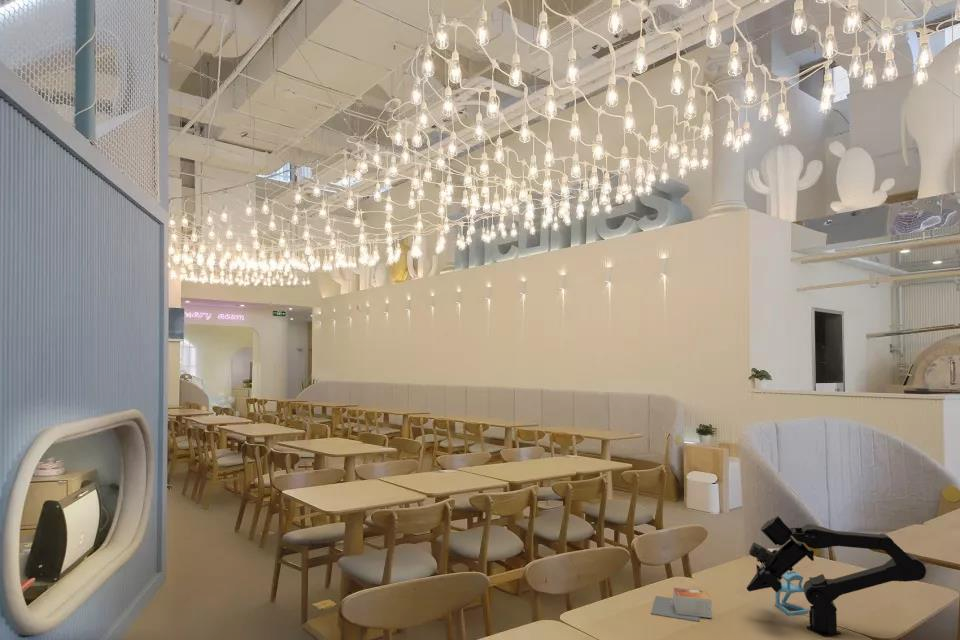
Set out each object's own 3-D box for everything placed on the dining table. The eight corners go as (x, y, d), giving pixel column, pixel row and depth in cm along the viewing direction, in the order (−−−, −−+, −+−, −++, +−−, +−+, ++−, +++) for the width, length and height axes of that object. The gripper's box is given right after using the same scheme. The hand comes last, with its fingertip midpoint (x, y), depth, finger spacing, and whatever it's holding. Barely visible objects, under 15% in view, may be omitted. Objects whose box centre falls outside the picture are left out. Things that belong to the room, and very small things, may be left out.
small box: (712, 599, 188) (675, 595, 190) (712, 618, 188) (675, 614, 190) (707, 590, 196) (673, 586, 198) (707, 608, 196) (673, 605, 198)
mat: (700, 603, 200) (700, 602, 201) (699, 621, 186) (699, 620, 186) (655, 596, 206) (655, 595, 206) (651, 614, 191) (651, 613, 191)
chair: (788, 603, 202) (787, 565, 203) (808, 613, 195) (808, 573, 195) (769, 605, 200) (768, 567, 201) (789, 615, 192) (788, 575, 193)
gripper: (763, 528, 197) (726, 559, 200) (768, 543, 180) (727, 577, 183) (791, 556, 194) (753, 588, 197) (799, 574, 176) (757, 609, 179)
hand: (747, 589), depth 189 cm, fingers closed
